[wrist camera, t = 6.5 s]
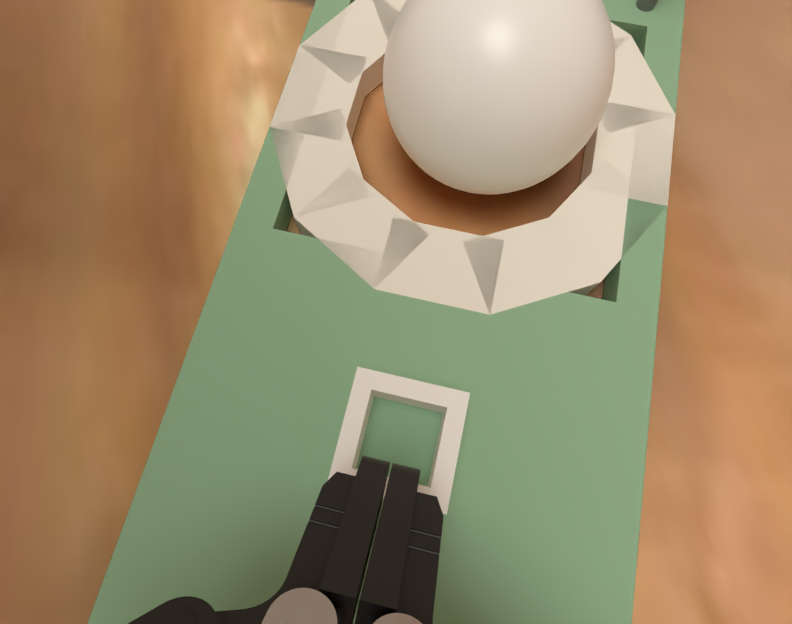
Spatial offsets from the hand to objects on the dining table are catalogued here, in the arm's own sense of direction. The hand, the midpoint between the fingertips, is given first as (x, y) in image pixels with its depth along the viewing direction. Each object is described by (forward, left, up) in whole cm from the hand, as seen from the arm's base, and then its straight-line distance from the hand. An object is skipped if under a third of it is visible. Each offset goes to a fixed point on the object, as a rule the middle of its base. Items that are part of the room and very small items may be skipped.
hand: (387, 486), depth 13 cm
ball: (-10, +10, -1) cm, 14 cm away
